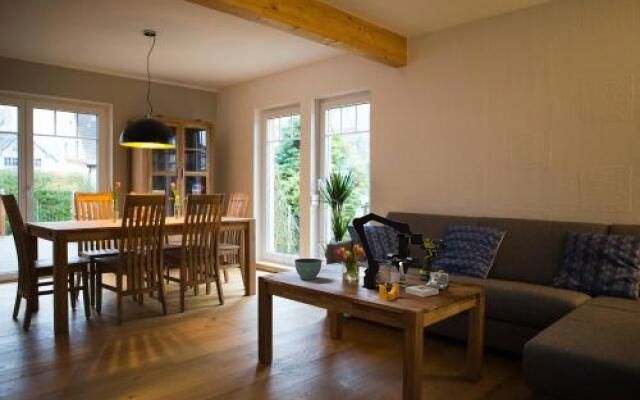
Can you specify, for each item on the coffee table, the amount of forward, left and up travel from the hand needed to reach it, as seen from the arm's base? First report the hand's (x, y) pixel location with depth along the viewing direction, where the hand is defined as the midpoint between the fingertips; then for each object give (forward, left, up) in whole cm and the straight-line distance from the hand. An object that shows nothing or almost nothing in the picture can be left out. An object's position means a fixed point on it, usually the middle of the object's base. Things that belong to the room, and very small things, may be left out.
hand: (402, 273), depth 259 cm
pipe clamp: (-22, -13, -8) cm, 27 cm away
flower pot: (-28, +49, -8) cm, 57 cm away
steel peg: (0, 0, -4) cm, 4 cm away
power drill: (+31, +4, -8) cm, 33 cm away
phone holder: (+18, -9, -8) cm, 22 cm away
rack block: (0, -14, -8) cm, 16 cm away
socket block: (0, 0, -8) cm, 8 cm away
